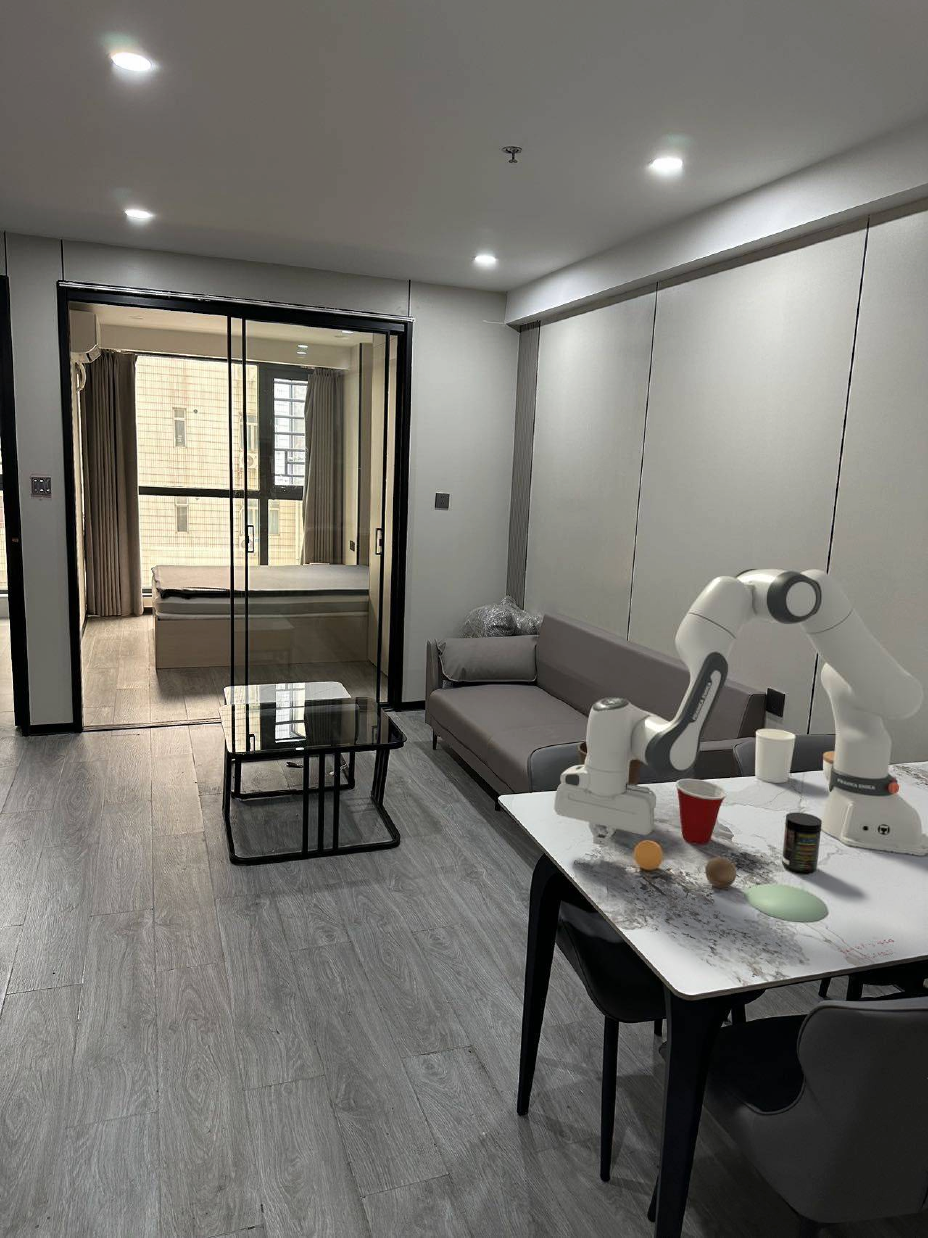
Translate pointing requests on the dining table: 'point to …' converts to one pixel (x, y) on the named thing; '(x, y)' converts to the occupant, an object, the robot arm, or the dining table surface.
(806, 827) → the supplement container
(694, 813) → the plastic cup
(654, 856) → the orange ball
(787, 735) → the white tapered cylinder
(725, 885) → the walnut ball
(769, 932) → the dining table surface
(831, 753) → the lidded jar
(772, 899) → the sage mark
